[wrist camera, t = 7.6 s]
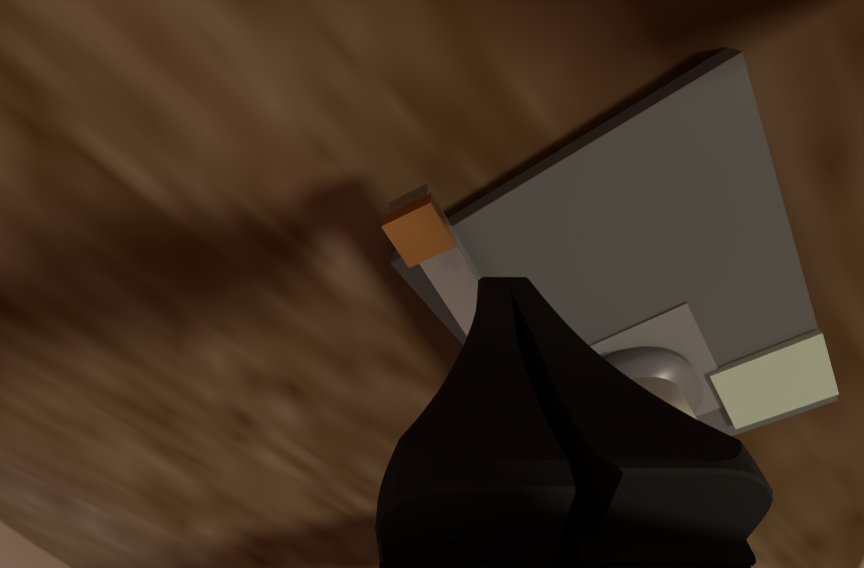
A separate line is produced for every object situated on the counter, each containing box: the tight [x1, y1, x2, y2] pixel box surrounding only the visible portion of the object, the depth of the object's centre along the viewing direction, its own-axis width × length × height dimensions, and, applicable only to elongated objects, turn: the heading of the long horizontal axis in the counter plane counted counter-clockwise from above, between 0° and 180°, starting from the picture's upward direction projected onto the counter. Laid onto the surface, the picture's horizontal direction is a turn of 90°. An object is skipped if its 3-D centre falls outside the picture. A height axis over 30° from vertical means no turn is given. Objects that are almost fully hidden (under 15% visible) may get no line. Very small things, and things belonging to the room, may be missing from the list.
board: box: [390, 47, 837, 436], centre depth 21 cm, size 14×20×2 cm
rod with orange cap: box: [381, 184, 481, 336], centre depth 19 cm, size 14×2×2 cm, turn 28°
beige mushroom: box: [603, 346, 704, 419], centre depth 21 cm, size 6×6×6 cm
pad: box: [708, 329, 839, 429], centre depth 23 cm, size 5×5×1 cm
